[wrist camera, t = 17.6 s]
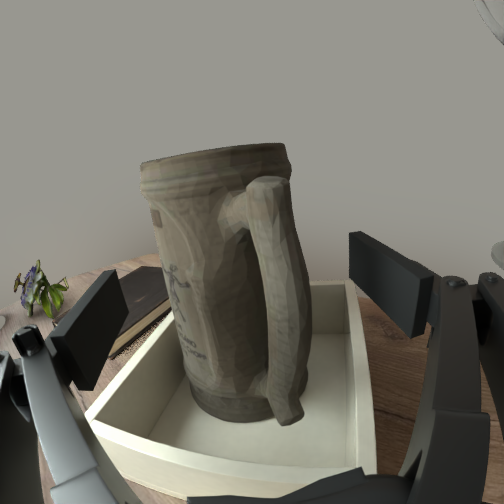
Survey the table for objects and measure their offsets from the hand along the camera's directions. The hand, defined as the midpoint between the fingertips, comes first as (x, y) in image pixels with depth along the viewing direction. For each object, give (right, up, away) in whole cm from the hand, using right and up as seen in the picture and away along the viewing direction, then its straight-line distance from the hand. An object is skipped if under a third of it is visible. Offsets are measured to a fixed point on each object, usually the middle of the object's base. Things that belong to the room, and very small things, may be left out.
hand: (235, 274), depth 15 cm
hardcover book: (-19, -8, +28) cm, 35 cm away
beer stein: (+2, -11, +7) cm, 13 cm away
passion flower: (-39, -10, +30) cm, 50 cm away
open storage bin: (+1, -13, +7) cm, 15 cm away
